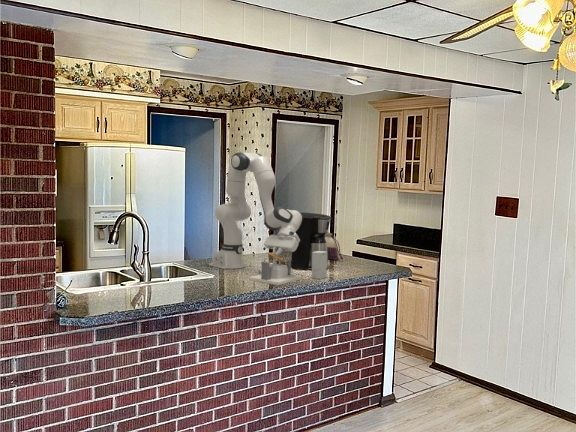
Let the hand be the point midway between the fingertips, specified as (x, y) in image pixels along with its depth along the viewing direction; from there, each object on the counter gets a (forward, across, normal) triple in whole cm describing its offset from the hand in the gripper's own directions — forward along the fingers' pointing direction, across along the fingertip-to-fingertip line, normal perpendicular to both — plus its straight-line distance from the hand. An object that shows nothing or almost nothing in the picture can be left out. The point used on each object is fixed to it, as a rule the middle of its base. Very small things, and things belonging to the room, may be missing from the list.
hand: (274, 254), depth 297 cm
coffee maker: (-22, -10, +42) cm, 49 cm away
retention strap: (0, 0, +4) cm, 4 cm away
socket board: (+9, 0, +11) cm, 14 cm away
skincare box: (-6, +15, +26) cm, 30 cm away
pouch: (-46, -14, +66) cm, 82 cm away
